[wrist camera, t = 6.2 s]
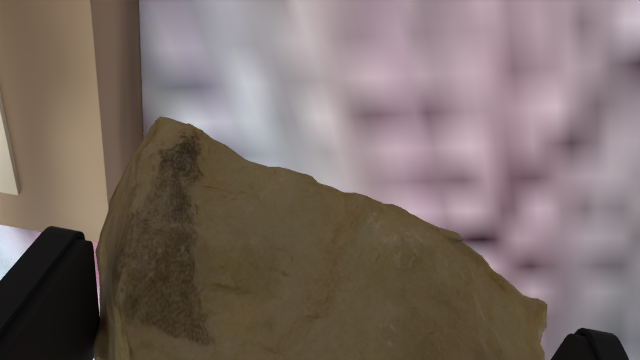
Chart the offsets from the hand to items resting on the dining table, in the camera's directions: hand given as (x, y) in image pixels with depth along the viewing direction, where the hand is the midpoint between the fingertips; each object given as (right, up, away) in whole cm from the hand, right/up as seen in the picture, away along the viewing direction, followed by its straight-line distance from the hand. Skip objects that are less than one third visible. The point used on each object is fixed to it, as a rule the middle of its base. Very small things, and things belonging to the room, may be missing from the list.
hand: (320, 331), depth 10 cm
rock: (0, +2, +4) cm, 4 cm away
